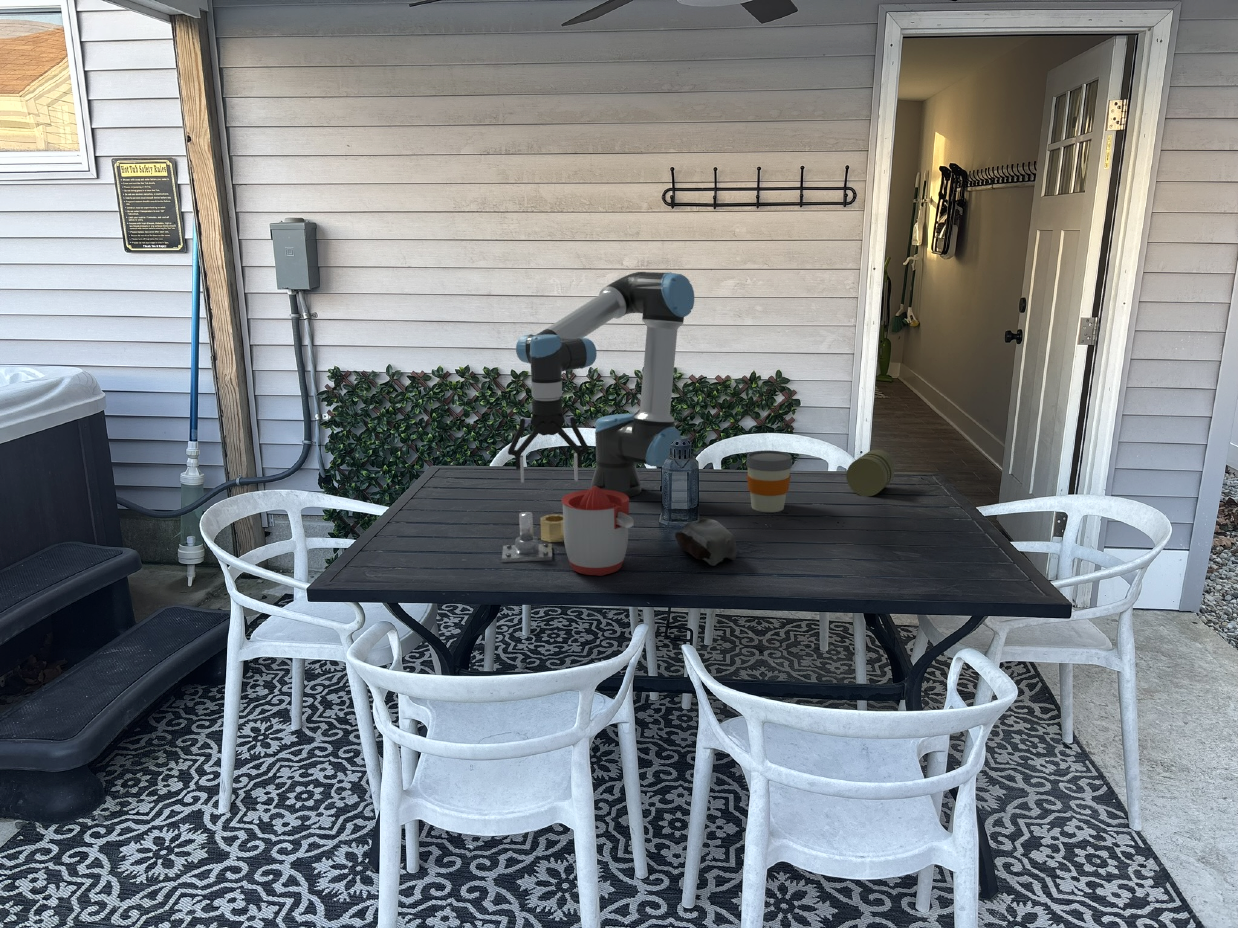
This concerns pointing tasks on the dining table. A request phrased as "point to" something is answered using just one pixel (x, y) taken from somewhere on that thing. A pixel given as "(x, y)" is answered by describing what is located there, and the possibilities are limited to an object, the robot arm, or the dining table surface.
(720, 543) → the dark grey lump
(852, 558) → the dining table surface
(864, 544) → the dining table surface
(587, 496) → the citrus juicer
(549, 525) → the hub
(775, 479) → the reusable coffee cup
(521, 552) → the shaft stand
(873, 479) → the piston
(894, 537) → the dining table surface
